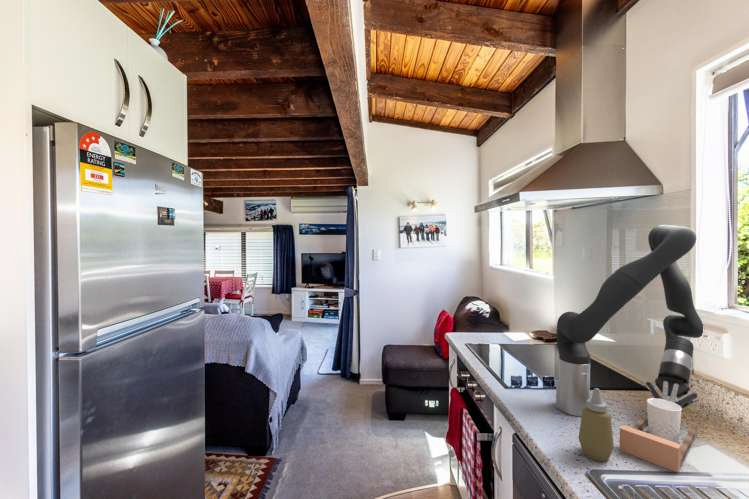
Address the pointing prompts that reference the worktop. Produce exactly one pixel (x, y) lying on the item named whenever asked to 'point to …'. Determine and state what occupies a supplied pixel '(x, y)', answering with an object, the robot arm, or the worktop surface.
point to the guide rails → (686, 442)
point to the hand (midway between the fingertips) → (666, 416)
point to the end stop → (650, 448)
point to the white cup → (664, 419)
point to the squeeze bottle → (596, 429)
